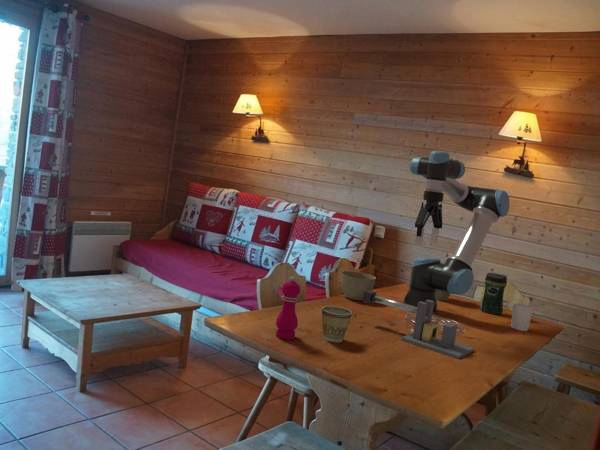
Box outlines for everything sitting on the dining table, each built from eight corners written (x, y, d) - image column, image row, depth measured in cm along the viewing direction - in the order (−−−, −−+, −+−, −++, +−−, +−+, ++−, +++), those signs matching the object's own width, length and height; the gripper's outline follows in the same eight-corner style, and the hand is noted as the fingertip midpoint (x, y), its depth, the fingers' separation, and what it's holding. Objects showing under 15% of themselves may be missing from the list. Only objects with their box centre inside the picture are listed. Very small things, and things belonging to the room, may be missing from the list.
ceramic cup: (327, 345, 170) (331, 314, 169) (312, 334, 179) (316, 306, 178) (361, 343, 176) (365, 314, 175) (345, 333, 185) (349, 305, 184)
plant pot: (456, 299, 269) (461, 268, 267) (452, 304, 255) (457, 272, 254) (427, 293, 275) (431, 263, 273) (421, 298, 261) (426, 266, 259)
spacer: (421, 340, 185) (423, 323, 185) (428, 337, 190) (431, 321, 190) (429, 342, 184) (431, 325, 183) (436, 339, 188) (439, 323, 188)
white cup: (531, 332, 220) (535, 309, 219) (511, 329, 221) (515, 306, 220) (526, 327, 228) (530, 305, 227) (507, 324, 229) (511, 302, 228)
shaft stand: (401, 339, 186) (406, 301, 185) (419, 333, 197) (424, 296, 195) (458, 358, 173) (465, 317, 172) (474, 351, 184) (480, 311, 182)
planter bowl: (364, 304, 232) (368, 280, 231) (331, 296, 240) (335, 273, 239) (378, 299, 246) (381, 276, 245) (346, 291, 254) (349, 269, 253)
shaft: (363, 301, 202) (364, 291, 201) (368, 300, 205) (369, 290, 204) (416, 317, 188) (418, 306, 187) (421, 316, 191) (423, 305, 190)
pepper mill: (273, 331, 177) (281, 273, 175) (295, 333, 177) (302, 275, 175) (274, 338, 169) (282, 277, 167) (296, 340, 170) (304, 280, 168)
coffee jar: (503, 313, 250) (509, 275, 248) (499, 316, 243) (506, 276, 241) (482, 308, 255) (488, 270, 253) (478, 311, 248) (484, 272, 246)
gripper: (429, 190, 196) (420, 246, 198) (455, 193, 216) (447, 245, 218) (410, 188, 201) (402, 243, 203) (438, 191, 220) (430, 241, 222)
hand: (426, 244), depth 210 cm, fingers open, 13 cm apart
